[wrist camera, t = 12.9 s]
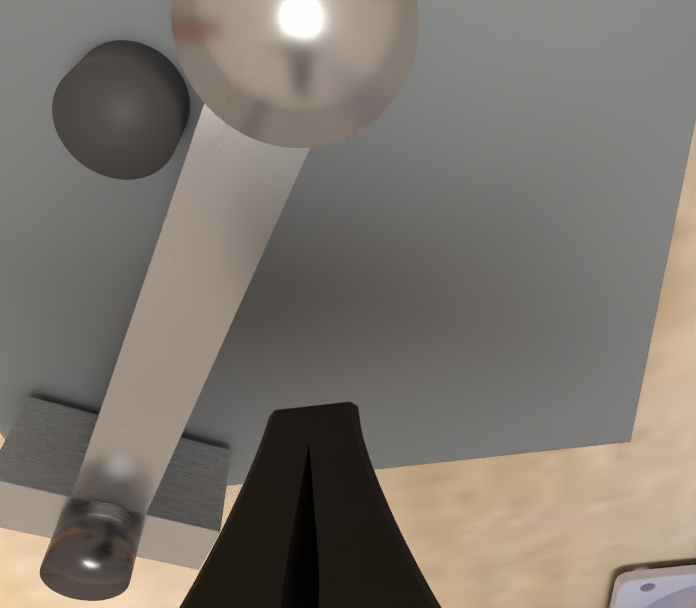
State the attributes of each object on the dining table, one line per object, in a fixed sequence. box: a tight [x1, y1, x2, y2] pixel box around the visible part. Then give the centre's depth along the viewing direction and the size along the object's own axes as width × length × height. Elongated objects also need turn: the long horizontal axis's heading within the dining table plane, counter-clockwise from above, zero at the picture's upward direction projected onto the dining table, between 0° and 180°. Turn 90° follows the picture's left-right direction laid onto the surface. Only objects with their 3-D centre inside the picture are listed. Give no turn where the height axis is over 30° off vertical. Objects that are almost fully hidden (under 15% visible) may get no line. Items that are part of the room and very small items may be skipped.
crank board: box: [0, 0, 696, 486], centre depth 14 cm, size 16×14×2 cm
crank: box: [0, 0, 419, 601], centre depth 12 cm, size 14×5×4 cm, turn 155°
